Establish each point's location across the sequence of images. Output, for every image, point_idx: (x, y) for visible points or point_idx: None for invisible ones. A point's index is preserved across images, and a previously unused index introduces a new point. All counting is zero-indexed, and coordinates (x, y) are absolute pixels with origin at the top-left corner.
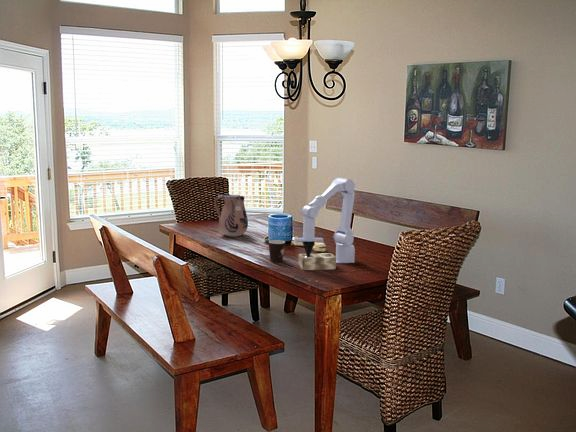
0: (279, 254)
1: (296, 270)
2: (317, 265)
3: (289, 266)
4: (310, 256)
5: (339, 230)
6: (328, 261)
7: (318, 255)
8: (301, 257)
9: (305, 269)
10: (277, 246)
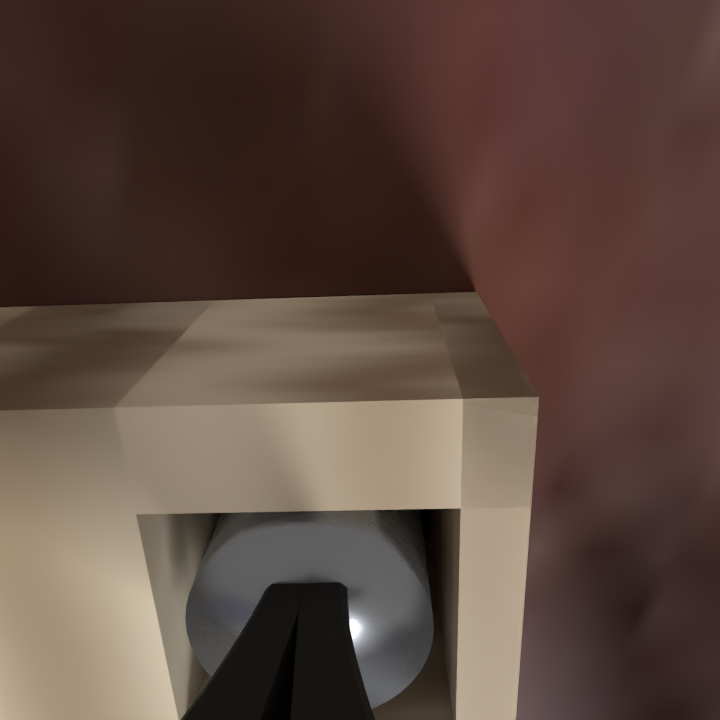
0: None
1: (609, 279)
2: (131, 329)
3: (647, 549)
4: (245, 598)
5: None
6: None
7: (8, 653)
8: (520, 557)
9: (415, 298)
10: None
